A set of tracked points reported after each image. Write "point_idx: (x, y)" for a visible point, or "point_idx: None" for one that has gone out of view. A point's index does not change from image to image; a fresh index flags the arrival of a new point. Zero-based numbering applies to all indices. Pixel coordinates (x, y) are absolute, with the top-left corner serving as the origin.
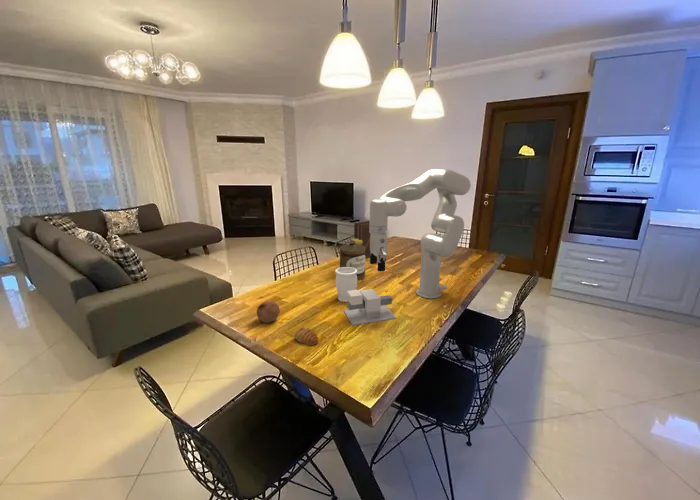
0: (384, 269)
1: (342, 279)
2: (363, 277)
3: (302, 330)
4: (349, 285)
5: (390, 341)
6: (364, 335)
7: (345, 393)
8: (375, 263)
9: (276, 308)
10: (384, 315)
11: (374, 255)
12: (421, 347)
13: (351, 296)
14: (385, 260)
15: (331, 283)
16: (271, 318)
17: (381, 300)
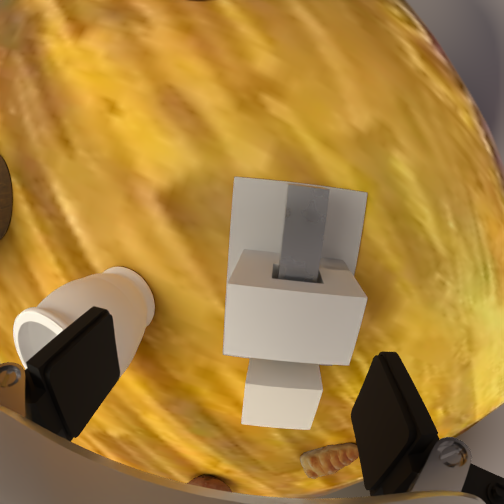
0: (396, 364)
1: None
2: (2, 163)
3: (317, 473)
4: (129, 348)
5: (461, 293)
6: (399, 349)
7: (488, 413)
8: (112, 329)
9: None
10: (333, 232)
11: (51, 404)
12: None
13: (309, 428)
14: (469, 462)
15: (20, 288)
16: None
17: (320, 255)
